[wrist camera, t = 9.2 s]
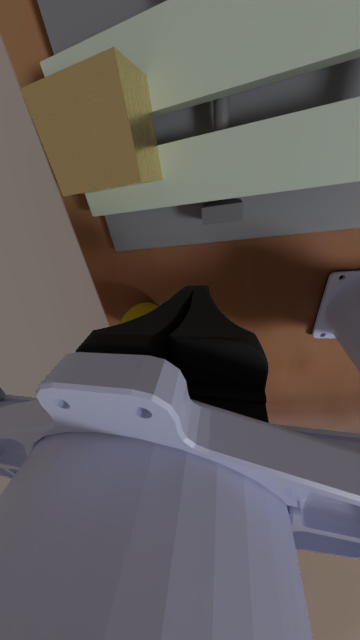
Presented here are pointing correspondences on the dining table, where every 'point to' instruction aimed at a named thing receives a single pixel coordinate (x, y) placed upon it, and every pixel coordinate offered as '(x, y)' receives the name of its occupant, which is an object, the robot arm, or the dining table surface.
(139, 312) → the lemon
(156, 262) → the dining table surface
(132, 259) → the dining table surface
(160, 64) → the beam
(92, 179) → the tan block
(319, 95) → the pivot stand
